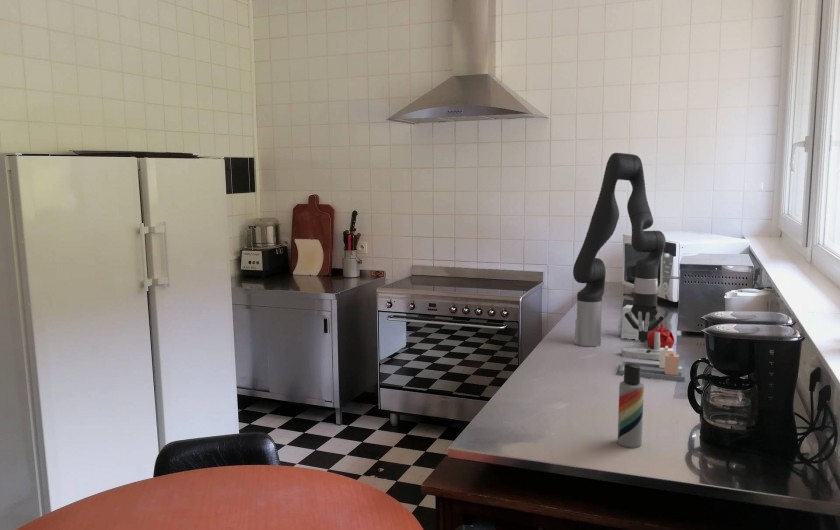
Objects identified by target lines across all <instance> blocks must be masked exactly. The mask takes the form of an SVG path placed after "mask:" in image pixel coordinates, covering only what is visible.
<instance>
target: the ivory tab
mask: <svg viewBox="0 0 840 530" xmlns="http://www.w3.org/2000/svg"><path fill="white" fill-rule="evenodd" d="M671 352H674V348H668V346H665V348H660V360H658V362H659V363H658V364H659V368H665V356H666V354H671Z"/></svg>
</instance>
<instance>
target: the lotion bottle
mask: <svg viewBox="0 0 840 530" xmlns="http://www.w3.org/2000/svg"><path fill="white" fill-rule="evenodd" d="M640 370H641V368H640V367H639V366H637V365H635V364H626V365H625V366H624V376H623V381H620V382H619V387H618V389H619V390H618V392H619V393H618V413H617V414H618V419H617V443H618V444H619V445H620V446H622V447H625V448H632V449H634V448H639V447H641V445H642V441H643V426H644V425H643V422H644V421H643V419H644V396H645V395H644V394H645V391H644V390H645V385H644V383H642V382H641V377H640Z"/></svg>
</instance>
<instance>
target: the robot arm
mask: <svg viewBox="0 0 840 530" xmlns="http://www.w3.org/2000/svg"><path fill="white" fill-rule="evenodd" d="M619 180H620V181H629V182H630V185H631V187H632V188H631V189H632V190H631V192H630V193H631V194H630V195H629V197H628V201H627V206H626V207H627V208H626V209H627V213H628V217H629V221H630V224H631V242H630V243H631V244H630V245H631V246H632V249H633V250H634V251H635V252H637V253H649V254H648V255H647V256H646V257H644V258H641V259H638V260H637V261H636V263H635V272H634V273H635V275H634V276H635V277H634V282H633V288H632V289H633V297H632V305H633V306H632V308H631V310H630V311H629V312H626V313H625V317H626V319H627V320H628V321H629V323H630V324H631V325H632V327H633V328H634V329H637V330H638V331H639V337H638V339H639V340H638V341H640V343H646V342H647V339H648V333H649V332H650V331H651V330H654V329H656V328H657V327H658V326H659V325H660V324H661V323H662V322H663V321H664V319H665V315H663V314H661V313H660V312H659V309H658V295H659V294H658V292H659V282H658V280H659V279H658V277H659V266H660V262H661V258H662V256H663V253H664V251H665V248H666V242H667V241H666V240H667V239H666V237H665V234H664V233H663V232H662V231H660V230H647V229H649V228H651V227H652V226H653V225H654V218H653V214H652V211H651V208H650V206H649V202H648V199H647V191H646V182H645V174H644V166H643V162H642V159H641V158H640V156H638V155H636V154H632V153H626V152H625V153H622V152H614V153H612V154H611V155H609V157H608V159H607V162H606V165H605V170H604V175H603V178H602V182H601V188H600V191H599V194H598V198H597V201H596V204H595V207H594V210H593V213H592V216H591V219H590V222H589V225H588V229H587V232H586V235H585V238H584V241H583V243H582V246H581V248H580V250H579V253H578V254H577V257H576V260H575V261H574V264H573V269H572V274H573V275H572V276H573V278H574V280H575V281H576V282H577V283H580V284H585V285H584V287H583V288H582V289H580V291H578V292H577V294H576V319H575V328H574V329H575V330H574V344H575V345H578V346H582V347H598V346H601V343H602V342H601V341H602V339H601V338H602V311H603V310H602V308H603V304H602V303H603V302H602V300H603V295H604V293H605V286H606V274H607V273H606V265H605V263H604V261H603V259H601V258H599V257H597V255H598V253H599V251H600V250H601V249H602V248H603V246H605V244H606V243H607V242H608V241H609V240H610V239H611V237H612V236H613V234H614V233H615V230H616V229H617V225H618V222H619V220H620V219H619V218H620V210H619V206H618V203H617V199H616V195H615V192H616V186H617V182H618V181H619ZM632 313H633V315H634V316H635V318H636V319H637V320H638V325H637V324H636V322H635V321H634V320H633V318H632V316H633V315H632ZM654 318H655V321H654V322H653V323H652V324H651V325H650V322H651V321H652V320H653V319H654ZM643 321H644V327H643ZM655 327H656V328H655Z"/></svg>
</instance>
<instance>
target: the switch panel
mask: <svg viewBox="0 0 840 530" xmlns="http://www.w3.org/2000/svg"><path fill="white" fill-rule="evenodd" d="M626 364H635V365H637V366H639V367H640V368H641V370H640V378H641V377H643V379H651V378H653V379H652V380H661V379H662V380H664V381H671V382H672V381H673V382H681V381H685V380H686V379H685V377H686V367H685V366H679V367H678V375H669V374H665V368H659V363H658V364H657V363H648V362H647V363H646V362H635V361H627V360H626V361H625V360H622V361H621V365H620V367H619V370H618V376H622V375H624V366H625V365H626ZM644 377H645V378H644ZM662 380H661V381H662Z"/></svg>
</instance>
